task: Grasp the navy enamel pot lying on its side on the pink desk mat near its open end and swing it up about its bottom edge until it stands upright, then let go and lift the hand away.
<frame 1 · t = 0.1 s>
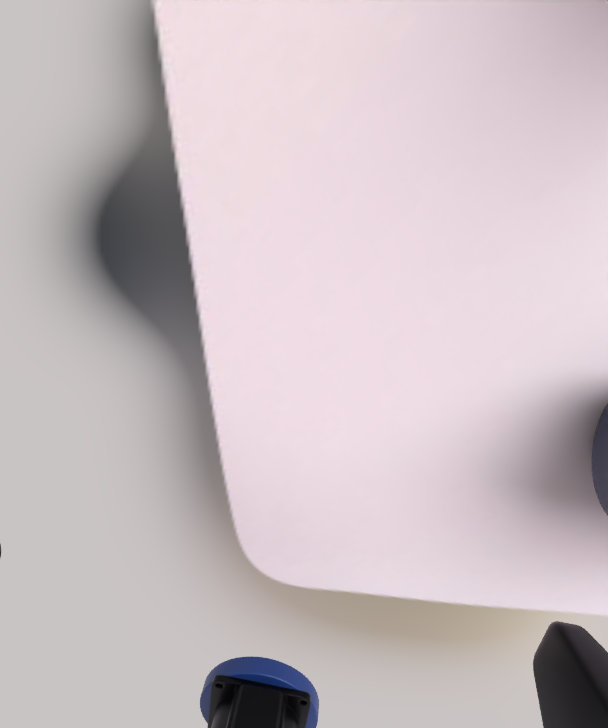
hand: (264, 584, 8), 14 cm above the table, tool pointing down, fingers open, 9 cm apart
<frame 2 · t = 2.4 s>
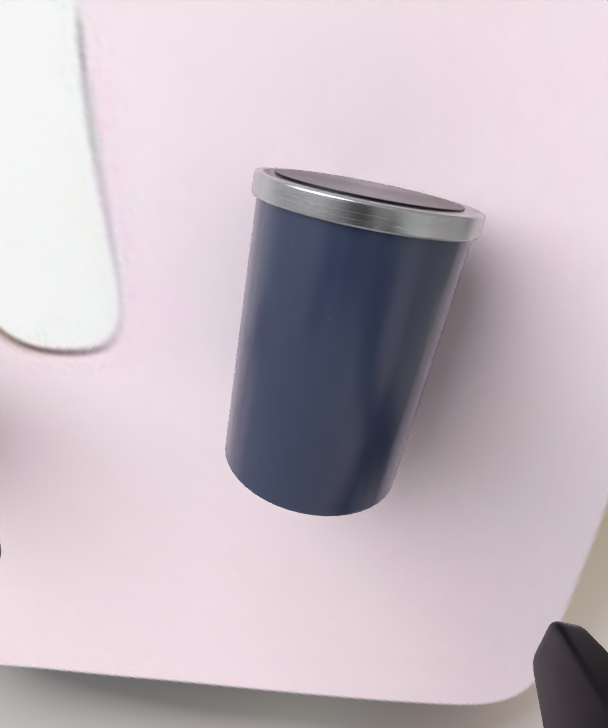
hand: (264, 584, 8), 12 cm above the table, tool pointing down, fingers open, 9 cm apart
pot: (336, 338, 15), point 3 cm above the table, hinge at 88.0°
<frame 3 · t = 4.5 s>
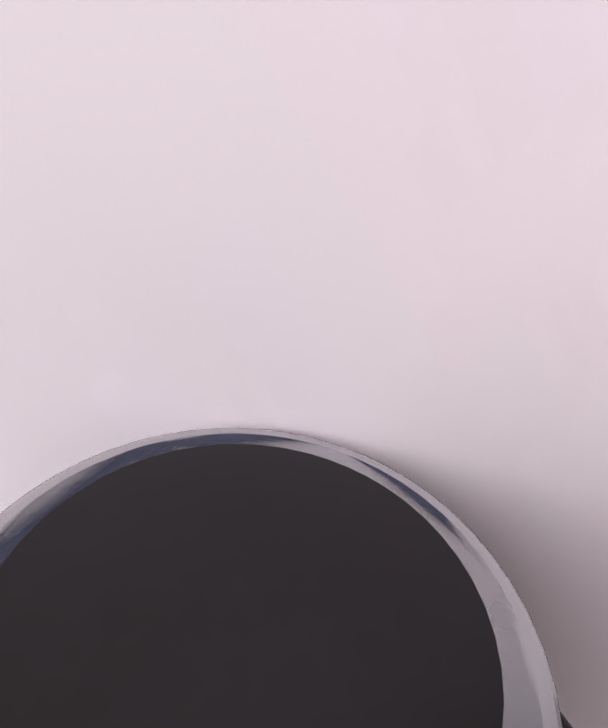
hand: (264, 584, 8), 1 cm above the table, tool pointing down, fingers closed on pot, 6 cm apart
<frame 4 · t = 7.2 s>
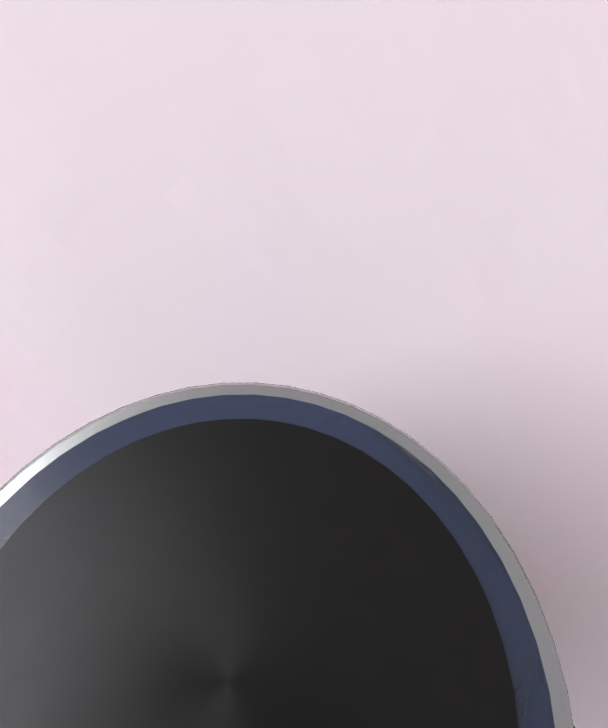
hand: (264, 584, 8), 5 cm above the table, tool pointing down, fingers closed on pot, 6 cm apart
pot: (250, 672, 8), point 5 cm above the table, hinge at 53.5°, touching gripper
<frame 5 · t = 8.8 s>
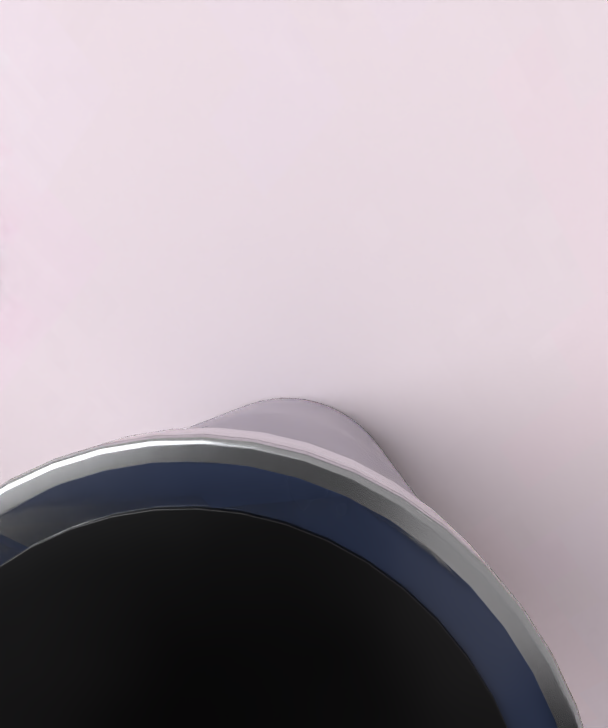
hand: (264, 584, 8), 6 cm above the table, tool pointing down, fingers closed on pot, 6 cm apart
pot: (264, 587, 8), point 5 cm above the table, hinge at 21.2°, touching gripper
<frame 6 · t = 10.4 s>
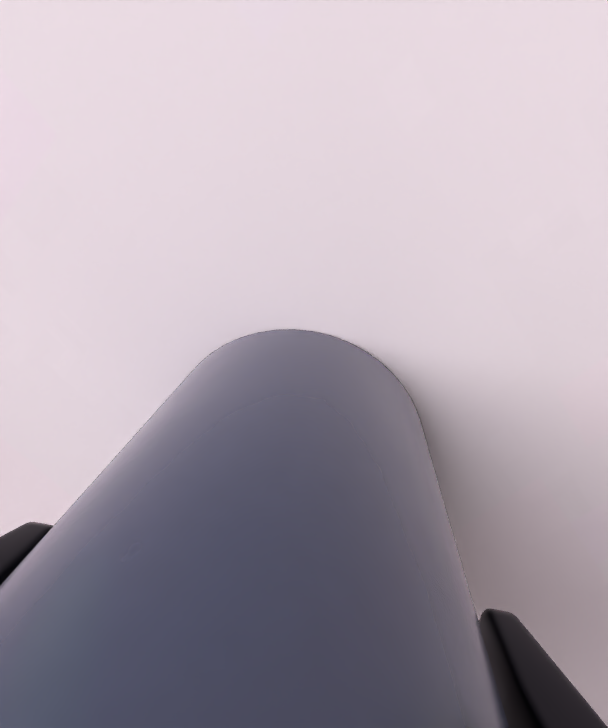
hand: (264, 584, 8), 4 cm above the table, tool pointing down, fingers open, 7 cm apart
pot: (256, 613, 7), point 5 cm above the table, hinge at 2.7°
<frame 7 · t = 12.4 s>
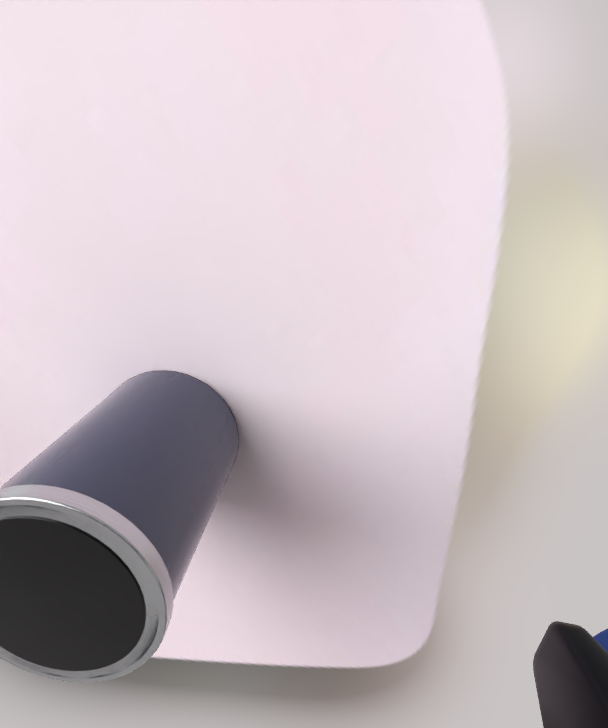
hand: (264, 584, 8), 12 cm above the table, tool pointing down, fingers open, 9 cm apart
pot: (125, 495, 17), point 5 cm above the table, hinge at 2.6°
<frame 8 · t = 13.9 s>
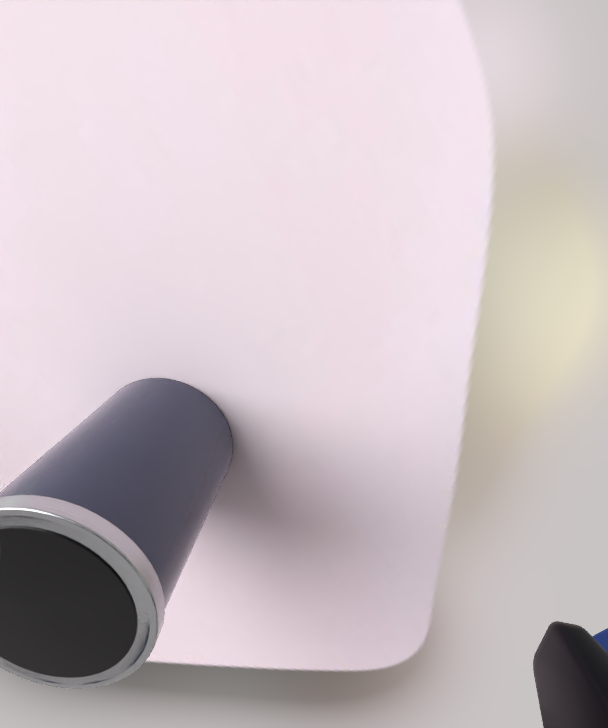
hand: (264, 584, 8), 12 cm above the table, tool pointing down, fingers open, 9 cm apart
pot: (119, 503, 17), point 5 cm above the table, hinge at 2.6°
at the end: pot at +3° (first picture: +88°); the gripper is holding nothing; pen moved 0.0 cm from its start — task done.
